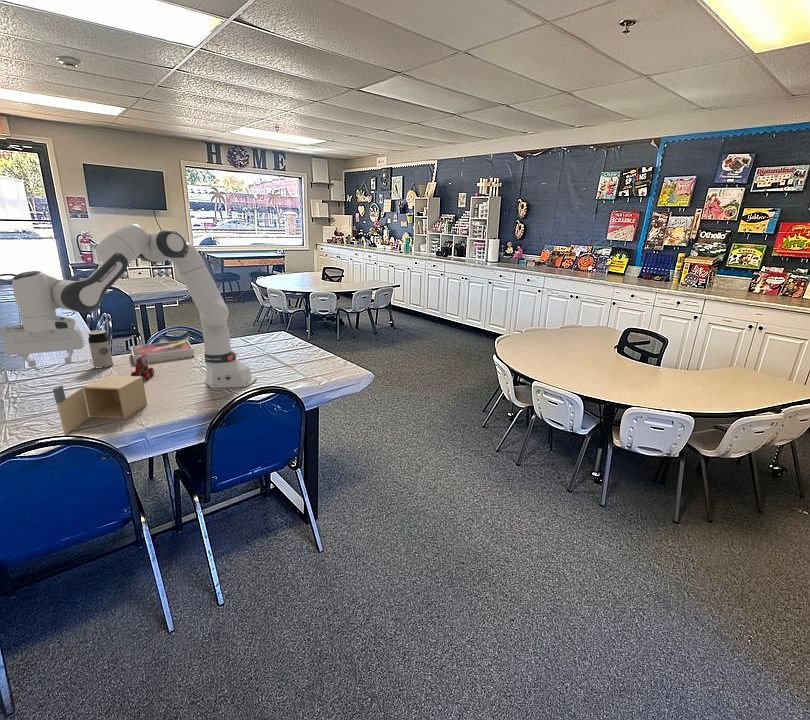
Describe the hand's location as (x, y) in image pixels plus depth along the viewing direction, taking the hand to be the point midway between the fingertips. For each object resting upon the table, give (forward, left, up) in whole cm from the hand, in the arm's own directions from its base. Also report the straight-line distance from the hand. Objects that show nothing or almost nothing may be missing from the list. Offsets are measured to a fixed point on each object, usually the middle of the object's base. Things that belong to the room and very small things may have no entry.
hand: (51, 364), depth 139 cm
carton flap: (+1, -5, -25) cm, 25 cm away
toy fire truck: (+10, -55, -25) cm, 61 cm away
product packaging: (+22, -90, -26) cm, 96 cm away
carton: (-4, -19, -25) cm, 32 cm away
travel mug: (+40, -69, -25) cm, 83 cm away
